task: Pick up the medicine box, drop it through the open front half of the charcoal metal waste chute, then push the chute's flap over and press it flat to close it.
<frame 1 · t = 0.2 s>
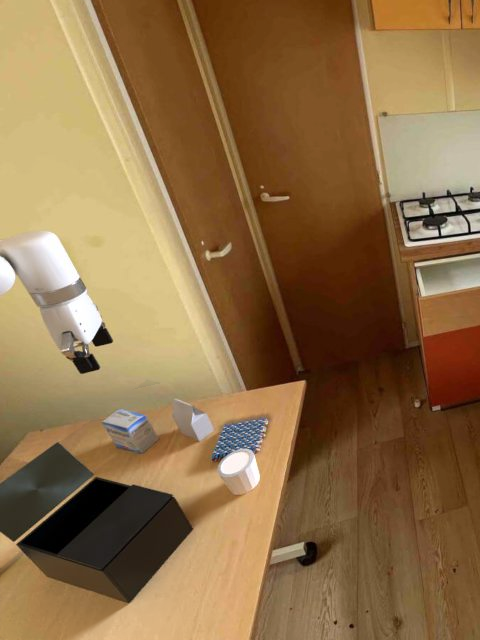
hand: (98, 357, 92), 25 cm above the table, tool pointing down, fingers open, 9 cm apart
flap: (36, 489, 75), point 15 cm above the table, hinge at 115.0°
woven mat: (242, 441, 102), on the table
medicine box: (138, 443, 102), on the table
white gable carton: (197, 432, 105), on the table
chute: (123, 551, 80), on the table
shot glass: (245, 483, 93), on the table
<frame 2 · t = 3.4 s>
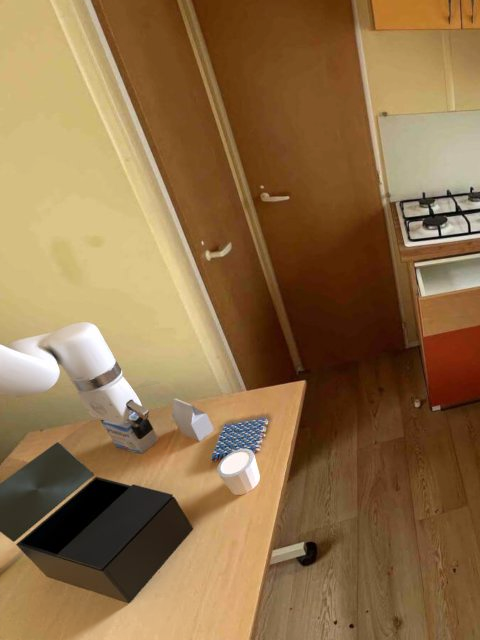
hand: (130, 430, 100), 4 cm above the table, tool pointing down, fingers closed on medicine box, 8 cm apart
medicine box: (138, 443, 102), on the table, touching gripper
everything else where it was.
when the fingers open (12 cm above the table, at t = 11.5 s): medicine box drops 7 cm, resting on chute.
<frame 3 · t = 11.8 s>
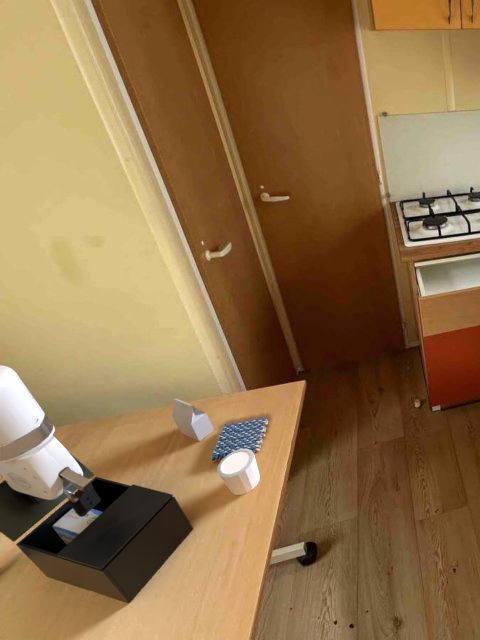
hand: (69, 502, 75), 14 cm above the table, tool pointing down, fingers open, 9 cm apart
medicine box: (101, 546, 81), resting on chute
everything else where it was.
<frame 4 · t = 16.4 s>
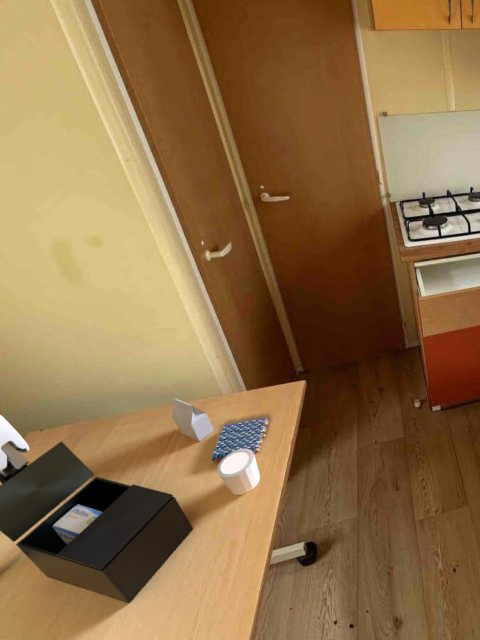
hand: (21, 482, 76), 16 cm above the table, tool pointing down, fingers closed
flap: (38, 489, 75), point 15 cm above the table, hinge at 107.1°, touching gripper
everything else where it was.
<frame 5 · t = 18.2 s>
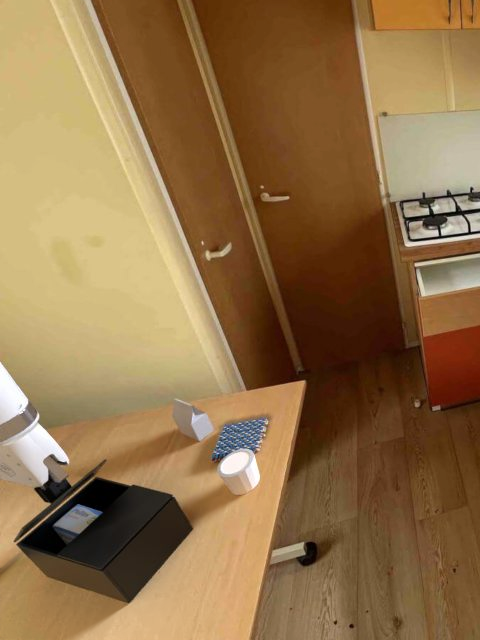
hand: (59, 495, 74), 15 cm above the table, tool pointing down, fingers closed
flap: (62, 498, 75), point 14 cm above the table, hinge at 44.5°, touching gripper
everything else where it was.
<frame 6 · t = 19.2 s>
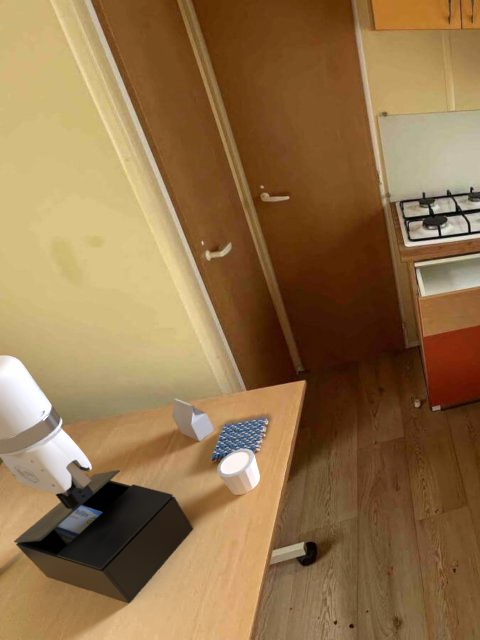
hand: (80, 501, 73), 15 cm above the table, tool pointing down, fingers closed
flap: (69, 504, 75), point 13 cm above the table, hinge at 25.5°
everything else where it was.
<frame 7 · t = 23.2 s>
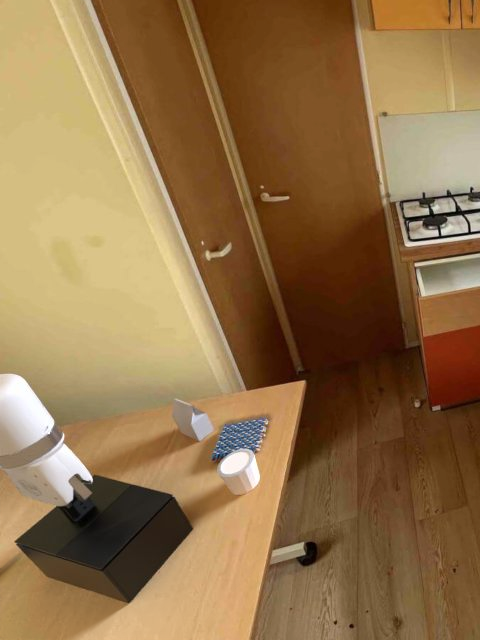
hand: (82, 512, 76), 11 cm above the table, tool pointing down, fingers closed
flap: (77, 511, 76), point 11 cm above the table, hinge at -0.2°, touching gripper
everything else where it was.
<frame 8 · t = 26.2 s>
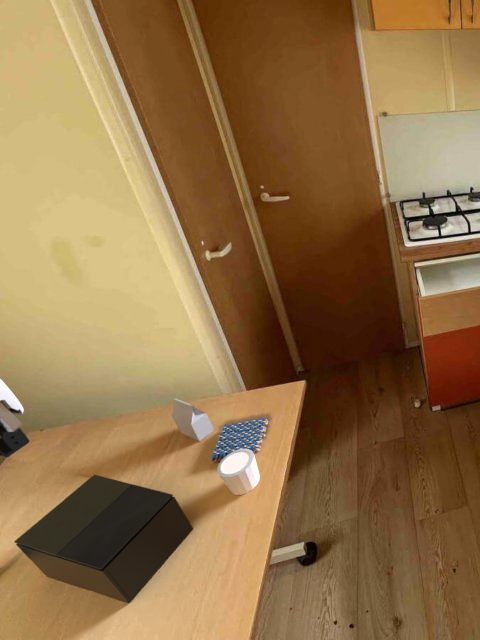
hand: (15, 448, 69), 27 cm above the table, tool pointing down, fingers closed
flap: (77, 511, 76), point 11 cm above the table, hinge at -0.2°
everything else where it was.
at the end: medicine box inside the target area in the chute (4.8 cm from its centre), point 0.2 cm above the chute's base; flap at +0° (first picture: +115°) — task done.
